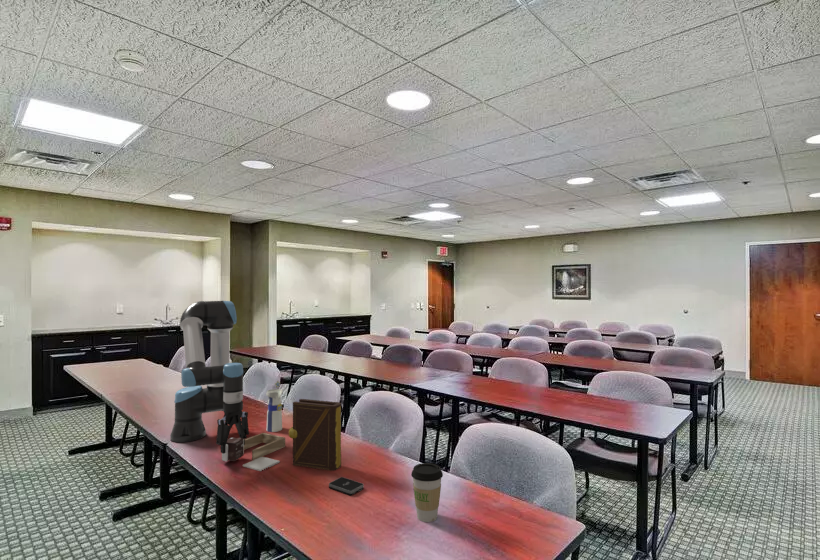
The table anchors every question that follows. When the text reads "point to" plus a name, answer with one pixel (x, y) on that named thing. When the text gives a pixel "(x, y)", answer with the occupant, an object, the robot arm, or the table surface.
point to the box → (235, 448)
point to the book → (316, 434)
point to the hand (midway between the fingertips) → (232, 457)
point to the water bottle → (274, 409)
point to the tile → (261, 463)
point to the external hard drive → (346, 486)
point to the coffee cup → (427, 490)
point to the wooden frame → (271, 446)
